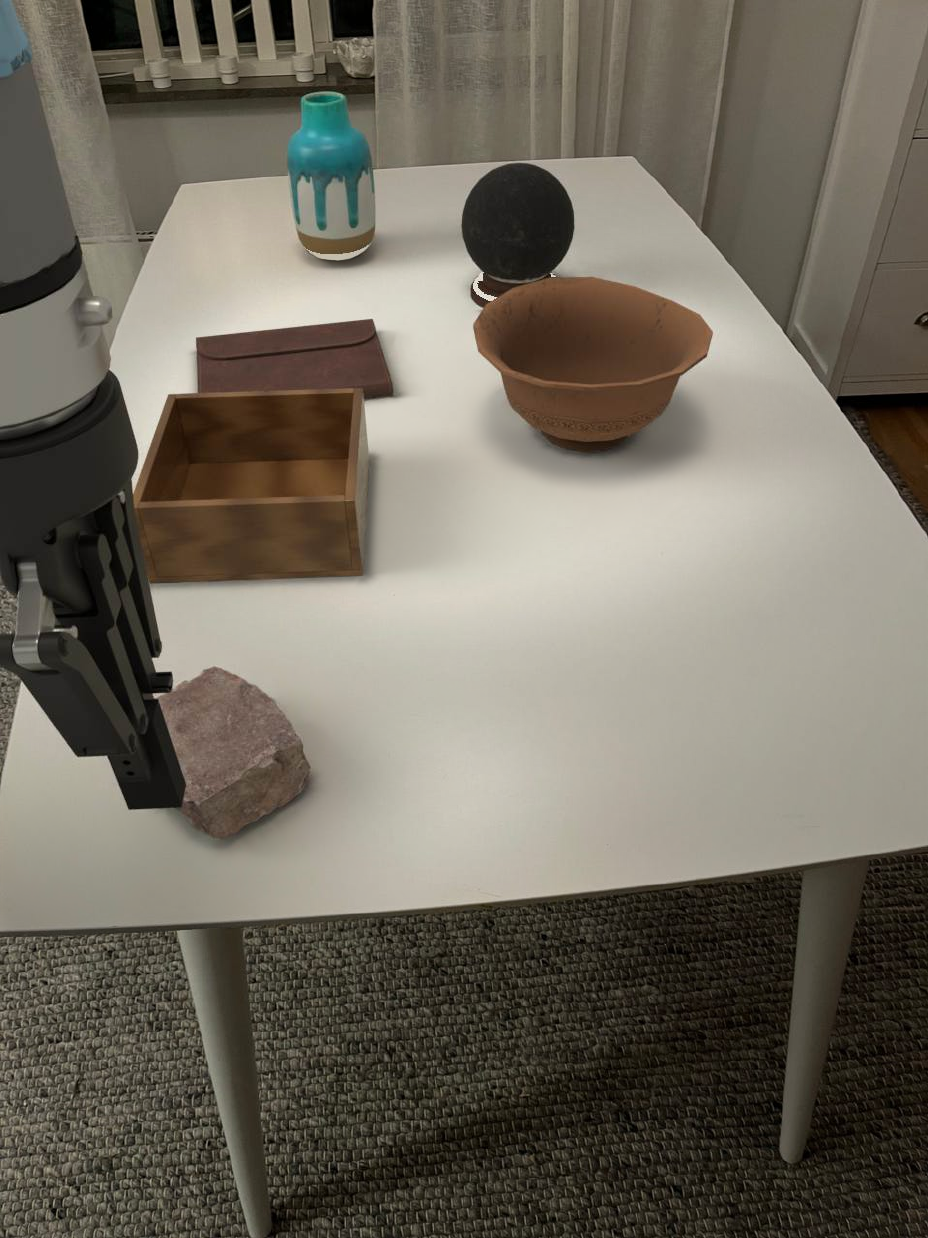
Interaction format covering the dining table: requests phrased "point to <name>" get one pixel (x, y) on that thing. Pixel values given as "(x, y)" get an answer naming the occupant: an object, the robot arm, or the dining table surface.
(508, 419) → the dining table surface
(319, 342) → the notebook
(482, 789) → the dining table surface
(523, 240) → the black ball on stand
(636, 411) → the bowl
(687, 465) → the dining table surface
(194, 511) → the box
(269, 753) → the stone
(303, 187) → the vase
